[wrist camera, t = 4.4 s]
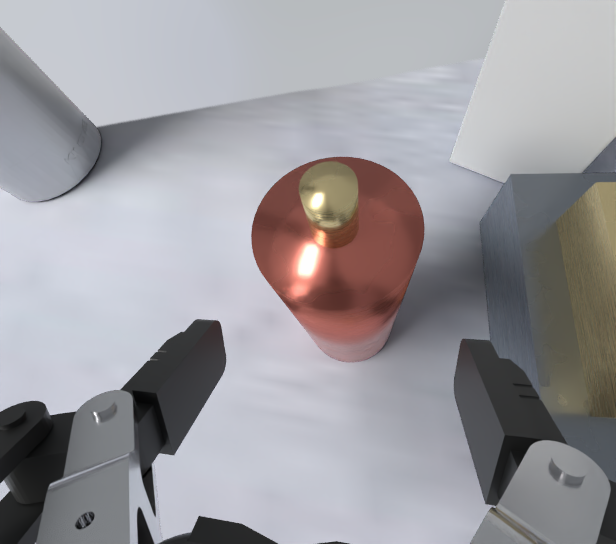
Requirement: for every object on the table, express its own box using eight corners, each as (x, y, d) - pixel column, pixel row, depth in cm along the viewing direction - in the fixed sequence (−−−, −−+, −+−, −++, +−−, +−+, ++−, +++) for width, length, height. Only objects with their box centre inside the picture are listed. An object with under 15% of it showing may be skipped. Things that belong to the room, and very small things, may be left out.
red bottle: (306, 358, 20) (207, 280, 8) (313, 280, 22) (244, 109, 9) (390, 365, 20) (444, 291, 7) (391, 284, 21) (435, 100, 8)
